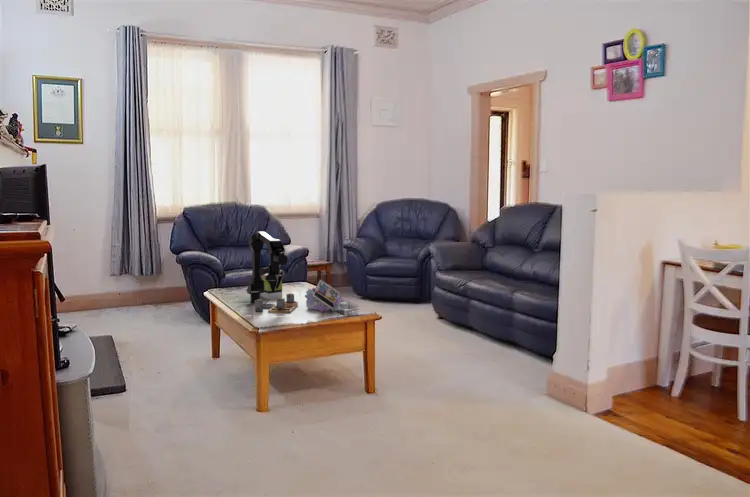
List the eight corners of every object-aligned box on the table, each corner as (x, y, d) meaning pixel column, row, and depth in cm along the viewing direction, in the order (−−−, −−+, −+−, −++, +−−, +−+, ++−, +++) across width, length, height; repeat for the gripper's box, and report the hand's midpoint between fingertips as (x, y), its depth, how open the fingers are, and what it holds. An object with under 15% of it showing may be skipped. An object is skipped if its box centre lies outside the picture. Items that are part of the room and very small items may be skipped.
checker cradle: (263, 306, 370) (263, 302, 370) (280, 306, 369) (280, 303, 369) (257, 310, 358) (257, 306, 358) (275, 311, 357) (275, 307, 357)
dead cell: (287, 305, 370) (287, 292, 369) (295, 305, 369) (294, 292, 368) (285, 307, 365) (285, 294, 364) (293, 307, 365) (293, 294, 364)
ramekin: (285, 305, 372) (285, 300, 371) (298, 306, 371) (298, 301, 371) (282, 308, 364) (281, 303, 363) (295, 309, 363) (295, 303, 363)
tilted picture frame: (323, 295, 378) (312, 272, 369) (353, 298, 366) (342, 274, 357) (305, 318, 364) (293, 294, 355) (335, 322, 352) (323, 297, 344)
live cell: (277, 310, 355) (277, 297, 354) (285, 310, 354) (285, 297, 354) (275, 312, 350) (275, 298, 350) (283, 312, 350) (283, 298, 349)
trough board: (274, 308, 363) (274, 305, 363) (295, 309, 362) (295, 305, 362) (268, 314, 349) (268, 310, 349) (290, 314, 348) (290, 311, 348)
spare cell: (256, 311, 355) (256, 298, 354) (264, 312, 355) (263, 298, 354) (254, 313, 351) (253, 300, 350) (261, 313, 350) (261, 300, 350)
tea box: (257, 295, 403) (256, 272, 401) (271, 294, 409) (271, 271, 407) (268, 299, 391) (267, 275, 389) (282, 297, 397) (282, 274, 395)
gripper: (264, 259, 362) (264, 286, 364) (256, 264, 344) (256, 293, 346) (284, 260, 361) (284, 287, 363) (276, 265, 343) (276, 293, 345)
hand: (275, 290), depth 354 cm, fingers open, 9 cm apart
